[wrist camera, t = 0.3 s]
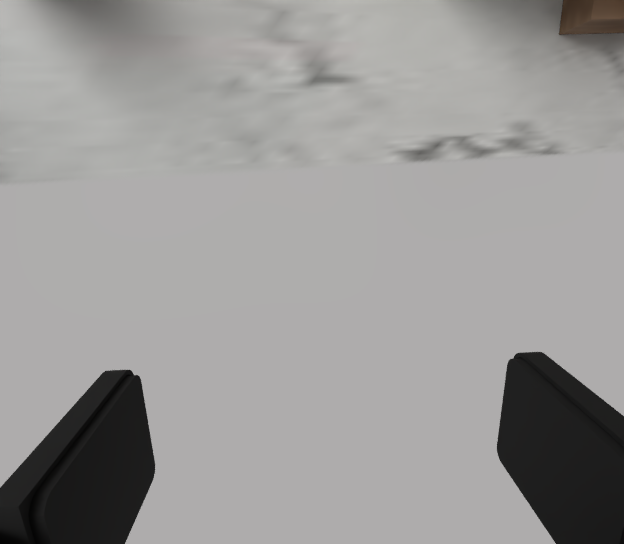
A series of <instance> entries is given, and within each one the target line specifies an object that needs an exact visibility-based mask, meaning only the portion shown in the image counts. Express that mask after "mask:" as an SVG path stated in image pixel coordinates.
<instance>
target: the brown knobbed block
mask: <svg viewBox="0 0 624 544" xmlns="http://www.w3.org/2000/svg"><path fill="white" fill-rule="evenodd" d="M596 33H624V0H563V8H562V16H561V24H560V32H559V35H561V34H596Z"/></svg>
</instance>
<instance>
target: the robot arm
mask: <svg viewBox="0 0 624 544" xmlns="http://www.w3.org/2000/svg"><path fill="white" fill-rule="evenodd" d="M497 452H498V456H499V459H500V461H501V463H502V464H503V466H504V467H505V469H506V470H507V472H508V473H509V475H510V476H511V478H512V479H513V481H514V482H515V484H516V485H517V486H518V488H519V490H520V491H521V492H522V494H523V495H524V497H525V498H526V500H527V501H528V503H529V504H530V506H531V507H532V509H533V510H534V512H535V513H536V515H537V516H538V518H539V519H540V521H541V522H542V524H543V525H544V527H545V528H546V529H547V531H548V532H549V534H550V535H551V537H552V538H553V540H554V541H555V543H556V544H624V416H623V415H621V414H620V413H619V412H618V411H616V410H615V409H614V408H613V407H611V406H610V405H609V404H607V403H606V402H605V401H604V400H602V399H601V398H600V397H599V396H597V395H596V394H595V393H593V392H592V391H591V390H590V389H588V388H587V387H586V386H585V385H583V384H582V383H581V382H580V381H578V380H577V379H576V378H574V377H573V376H572V375H571V374H569V373H568V372H567V371H566V370H564V369H563V368H562V367H560V366H559V365H558V364H557V363H555V362H554V361H553V360H552V359H550V358H549V357H548V356H547V355H545V354H544V353H542V352H529V353H517V354H516V355H515V356H514V359H510V360H509V362H508V365H507V372H506V380H505V388H504V396H503V404H502V411H501V419H500V427H499V435H498V442H497ZM154 473H155V461H154V455H153V449H152V444H151V438H150V432H149V425H148V420H147V414H146V408H145V403H144V396H143V390H142V384H141V379H140V377H139V376H138V375H134V374H133V373H132V371H131V370H113V371H105V372H104V373H102V375H101V376H100V377H99V378H98V379H97V380H96V381H95V382H94V383H93V385H92V386H91V387H90V388H89V389H88V390H87V392H86V393H85V394H84V395H83V396H82V397H81V398H80V399H79V400H78V401H77V403H76V404H75V405H74V406H73V407H72V408H71V409H70V410H69V412H68V413H67V414H66V415H65V416H64V417H63V418H62V419H61V420H60V422H59V423H58V424H57V425H56V426H55V427H54V428H53V429H52V431H51V432H50V433H49V434H48V435H47V436H46V437H45V438H44V440H43V441H42V442H41V443H40V444H39V445H38V446H37V447H36V448H35V450H34V451H33V452H32V453H31V454H30V455H29V457H27V459H26V460H25V461H24V462H23V463H22V464H21V465H20V466H19V468H18V469H17V470H16V471H15V472H14V473H13V474H12V475H11V476H10V478H9V479H8V480H7V481H6V482H5V483H4V484H3V485H2V487H1V488H0V544H125V542H126V540H127V537H128V535H129V533H130V531H131V528H132V526H133V524H134V522H135V519H136V517H137V515H138V512H139V510H140V508H141V506H142V503H143V501H144V499H145V497H146V494H147V492H148V490H149V488H150V485H151V483H152V481H153V478H154Z"/></svg>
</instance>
